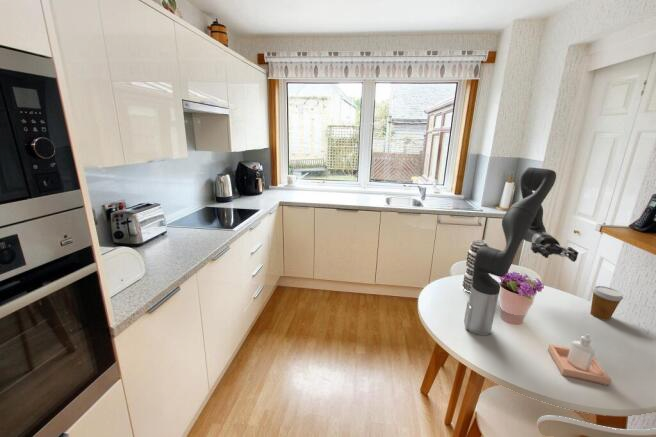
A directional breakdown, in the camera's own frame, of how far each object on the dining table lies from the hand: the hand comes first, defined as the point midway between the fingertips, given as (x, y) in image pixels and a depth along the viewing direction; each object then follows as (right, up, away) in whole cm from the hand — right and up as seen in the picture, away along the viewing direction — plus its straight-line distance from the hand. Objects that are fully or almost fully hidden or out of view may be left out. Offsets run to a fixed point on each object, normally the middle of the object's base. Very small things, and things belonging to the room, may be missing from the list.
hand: (561, 257), depth 109 cm
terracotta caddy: (-5, -35, -12) cm, 37 cm away
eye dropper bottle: (-4, -34, -12) cm, 37 cm away
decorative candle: (-16, -21, +35) cm, 44 cm away
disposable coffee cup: (+30, -28, +17) cm, 44 cm away
